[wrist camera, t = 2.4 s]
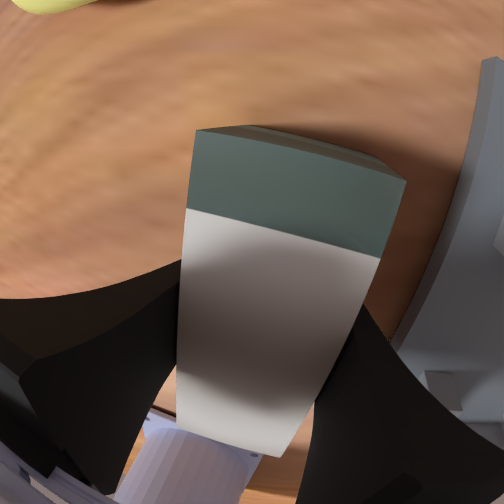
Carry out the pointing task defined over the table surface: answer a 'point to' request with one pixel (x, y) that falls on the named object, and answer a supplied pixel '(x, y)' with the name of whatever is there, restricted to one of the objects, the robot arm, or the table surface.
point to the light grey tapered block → (272, 277)
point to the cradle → (467, 282)
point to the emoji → (50, 5)
